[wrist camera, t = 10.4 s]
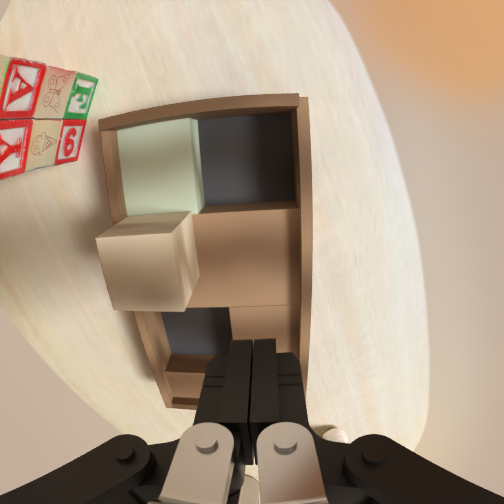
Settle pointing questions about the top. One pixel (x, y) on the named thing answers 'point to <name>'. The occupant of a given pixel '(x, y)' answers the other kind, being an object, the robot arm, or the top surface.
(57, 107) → the stack of blocks
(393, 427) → the top surface
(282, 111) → the board
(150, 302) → the beech block
